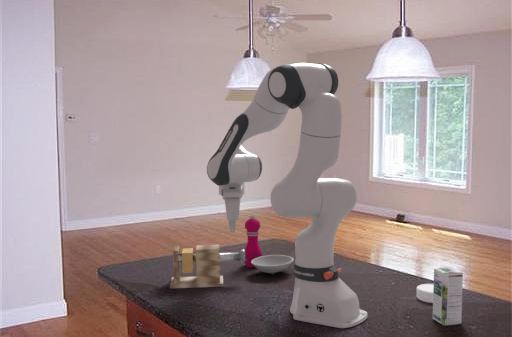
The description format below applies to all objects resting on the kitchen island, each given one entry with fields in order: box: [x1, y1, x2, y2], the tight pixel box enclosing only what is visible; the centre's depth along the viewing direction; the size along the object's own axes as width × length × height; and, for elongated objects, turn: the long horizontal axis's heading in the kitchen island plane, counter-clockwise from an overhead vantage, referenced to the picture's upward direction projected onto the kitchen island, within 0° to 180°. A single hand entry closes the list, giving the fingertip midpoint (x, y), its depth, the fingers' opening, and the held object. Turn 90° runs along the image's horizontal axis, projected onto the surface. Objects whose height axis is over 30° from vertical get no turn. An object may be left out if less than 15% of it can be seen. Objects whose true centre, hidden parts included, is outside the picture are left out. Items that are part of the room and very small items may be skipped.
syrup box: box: [432, 266, 464, 327], centre depth 148 cm, size 6×6×14 cm
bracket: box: [169, 244, 224, 289], centre depth 187 cm, size 18×10×13 cm, turn 94°
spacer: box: [181, 247, 195, 274], centre depth 186 cm, size 4×7×7 cm, turn 4°
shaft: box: [172, 248, 246, 264], centre depth 187 cm, size 25×5×5 cm, turn 94°
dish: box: [251, 254, 295, 275], centre depth 198 cm, size 18×14×5 cm
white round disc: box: [415, 283, 434, 304], centre depth 168 cm, size 10×10×4 cm
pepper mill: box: [244, 214, 263, 268], centre depth 209 cm, size 7×7×20 cm
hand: (232, 228), depth 187 cm, fingers open, 8 cm apart
